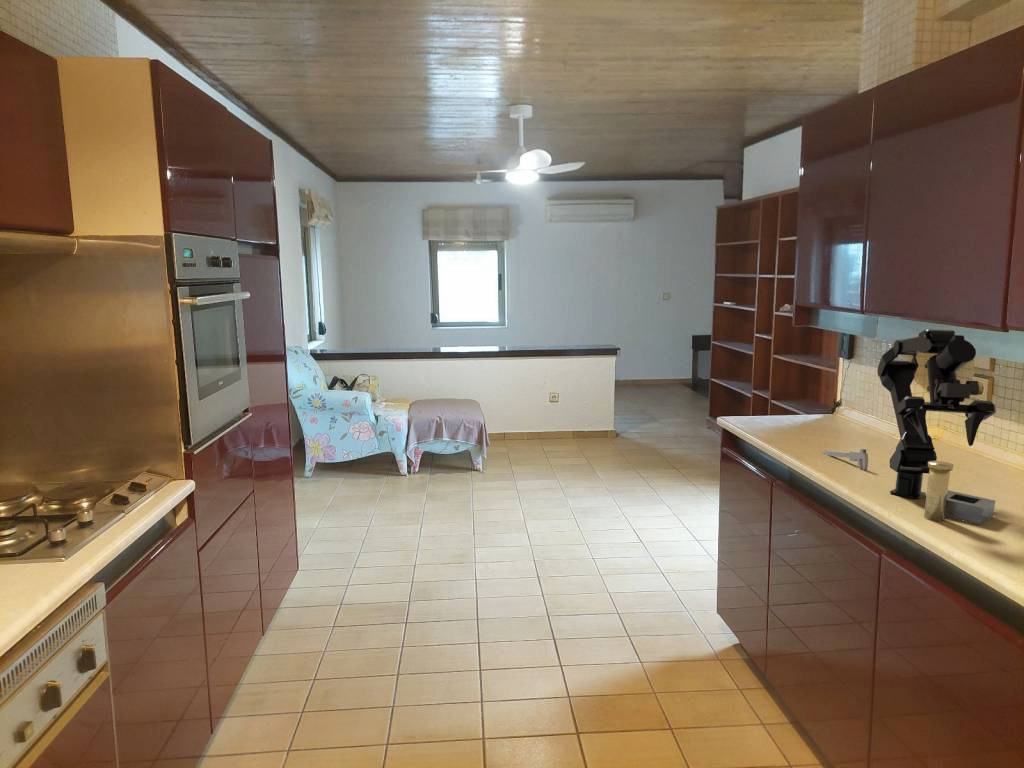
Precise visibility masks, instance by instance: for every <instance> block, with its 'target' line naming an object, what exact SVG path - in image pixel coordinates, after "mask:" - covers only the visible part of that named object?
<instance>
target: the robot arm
mask: <svg viewBox="0 0 1024 768" xmlns="http://www.w3.org/2000/svg"><path fill="white" fill-rule="evenodd" d="M917 354H932V356H930V357H929V358H928V359H927V361H926V362H925V364H924V368H925V369H927V377H928V378H927V379H928V381H927V382H928V385H927V387H926V391H927V392H929V401H927V402H926V400H925V398H924V397H923V396H913V393H912V389H911V385H912V383H913V382H914V380H915V374H916V373H917V370H918V368H919V363H918V361H917V357H916V356H917ZM933 354H935V355H933ZM899 355H901V356H911V357H912V358H911V360H910V361H909V360H899V359H898V360H895V359H897V358H898V357H899ZM976 355H977V350H976V348H975V347H974V345H973V344H972V343H971V342H970V341H968V340H966V339H965V336H964V335H961V334H956V332H955V330H953V329H931V328H930V329H928V328H926V329H924V330H922V331H920V332H919V333H918V336H915V337H910V338H904V339H901V338H900V339H896V340H895V341H894V343H893V345H892V347H891V348H889V350H888V351H886V352H885V353H884V354H883V355H882V356H881V359H880V360H879V363H878V365H877V370H876V372H877V376H878V377H879V380H880V383H881V385H882V386H883V388H885V389H886V391H888V392H889V393H890V397H891V401H892V406H893V410H894V415H895V419H896V423H897V429H898V433H899V438H900V439H899V441H898V443H897V444H896V447H895V450H894V452H893V454H892V455H891V457H890V458H889V468H890V469H891V470H893V471H894V472H895V473H896V480H895V481H896V483H895V488H894V489H892V490H889V494H893V495H897V496H901V497H905V498H908V499H909V498H910V499H914V500H918V499H920V498H922V497H925V496H926V495H927V492H923V491H922V488H923V479H924V478H923V477H924V474H926V475H927V474H928V475H929V470H930V468H929V467H928V461H938V460H937V459H938V456H937V453H936V452H937V451H935V447H934V444H933V439H932V436H931V435H930V434H929V433H928V426H927V420H926V418H927V417H926V415H927V411H928V412H939V413H940V412H941V413H953V414H954V413H955V414H964V415H965V417H966V419H965V420H964V425H965V431H966V433H965V434H966V440H967V444H968V447H972V446H973V445H974V442H975V439H976V437H977V433H978V429H979V427H980V425H981V423H982V422H983V421H986V420H987V419H989V418H990V417H992V416H993V415H994V414H996V412H997V411H996V410H997V409H996V405H995V404H994V403H993V401H990V400H979V399H978V400H973V401H972V402H971V403H970V404H961V403H964V402H965V400H966V399H969V400H970V398H971V396H978V395H979V393H980V386H979V385H980V384H979V381H978V380H966V381H965V383H961V380H960V379H958V376H957V372H958V371H960V370H962V369H963V368H964V367H965V366H966V365H968V364H969V363H971V362H972V360H974V359H975V357H976Z"/></svg>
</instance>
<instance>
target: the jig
mask: <svg viewBox="0 0 1024 768" xmlns="http://www.w3.org/2000/svg"><path fill="white" fill-rule="evenodd" d="M995 507H996V500H994V499H991V498H990V499H989V498H985V497H982V496H981V497H980V496H976V495H972V494H968V493H962V492H957V491H953V490H949V489H948V492H947V500H946V508H945V516H946V517H945V518H949V517H950V518H949V519H953V518H955V519H954V520H957V519H959V520H958V521H961V520H964V521H963V522H965V521H967V522H966V523H969V522H971V523H970V524H973V523H975V524H974V525H977V524H979V525H978V526H982V525H984V524H985V523H986V521H987V520H988V521H990V520H991V519H992V517H993V518H994V514H995ZM990 518H991V519H990ZM989 519H990V520H989ZM988 521H987V522H988ZM984 522H985V523H984ZM983 523H984V524H983Z"/></svg>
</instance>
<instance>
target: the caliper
mask: <svg viewBox="0 0 1024 768" xmlns="http://www.w3.org/2000/svg"><path fill="white" fill-rule="evenodd" d="M821 453H822V454H824V455H826V456H830V457H839V458H846V459H847V458H848V459H849V461H850V462H851V461H852V462H857V467H858V469H859V468H863V469H862V471H867V470H868V466H869V454H868V453H867V449H866V448H860V449H859V451H849V452H846V451H838V450H824V451H822V452H821Z"/></svg>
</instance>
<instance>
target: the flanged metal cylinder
mask: <svg viewBox="0 0 1024 768" xmlns="http://www.w3.org/2000/svg"><path fill="white" fill-rule="evenodd" d="M928 467H929V468H930V470H929V474H928V480H927V488H926V495H925V504H924V514H923V518H924V517H925V518H924V519H926V518H927V519H926V520H928V519H930V520H929V521H932V520H936V521H935V522H943V521H942V520H944V521H945V517H944V516H945V508H946V500H947V492H948V490H949V482H950V475H951V471H953V470H954V464H953V463H951V462H947V461H942V460H936V461H928Z"/></svg>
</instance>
